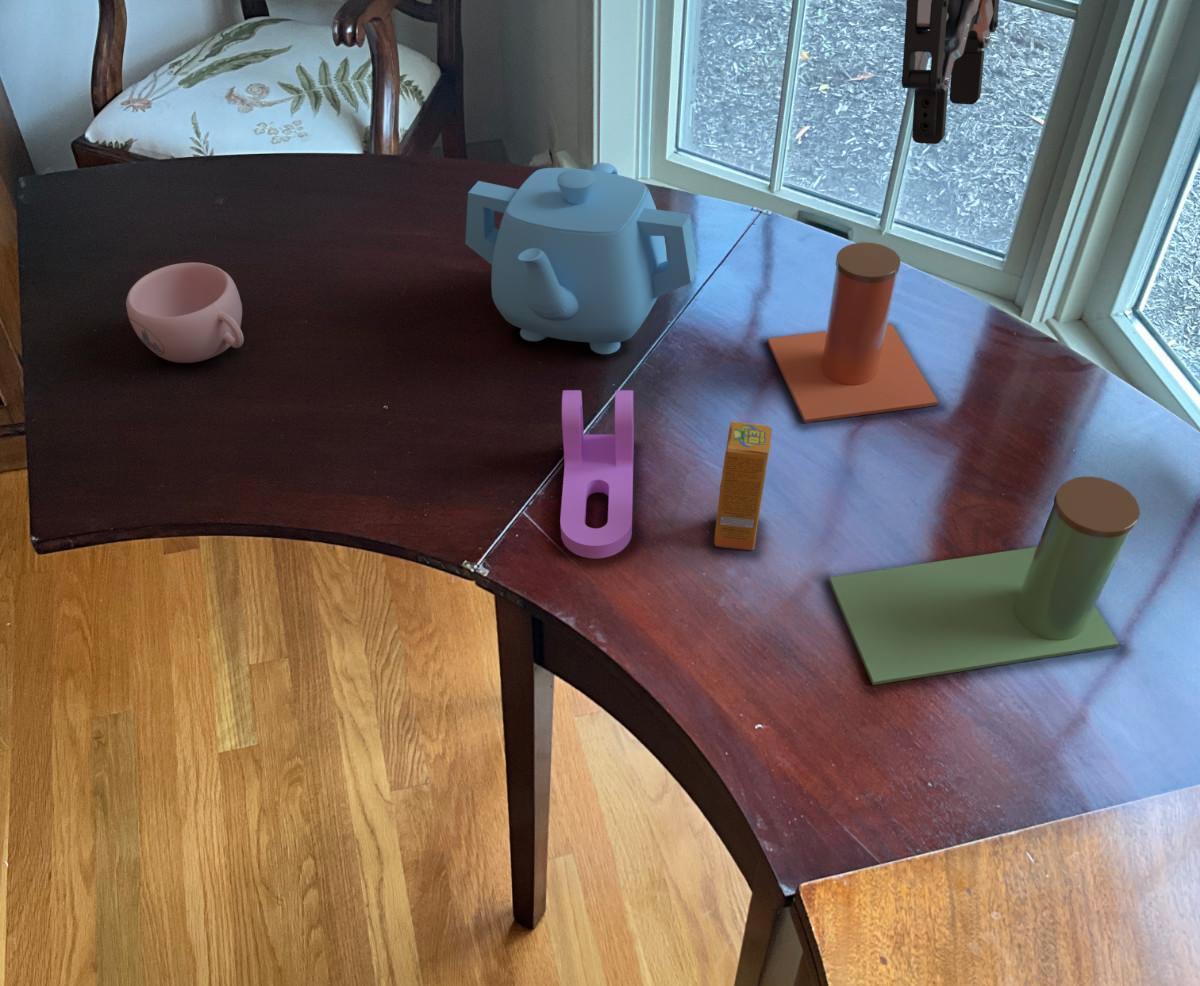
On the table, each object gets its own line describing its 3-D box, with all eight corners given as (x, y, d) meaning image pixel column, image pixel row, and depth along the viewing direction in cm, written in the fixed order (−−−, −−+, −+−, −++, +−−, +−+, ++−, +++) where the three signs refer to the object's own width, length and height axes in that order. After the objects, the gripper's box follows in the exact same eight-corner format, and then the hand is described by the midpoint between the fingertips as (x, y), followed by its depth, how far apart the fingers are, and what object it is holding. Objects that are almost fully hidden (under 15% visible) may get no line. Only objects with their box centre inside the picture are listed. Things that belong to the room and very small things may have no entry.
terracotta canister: (879, 353, 101) (900, 244, 93) (878, 388, 98) (900, 279, 89) (821, 348, 102) (837, 239, 93) (818, 383, 98) (835, 273, 90)
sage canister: (1068, 582, 82) (1116, 471, 74) (1101, 635, 79) (1155, 525, 70) (1001, 592, 82) (1042, 481, 73) (1031, 646, 78) (1077, 536, 70)
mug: (121, 354, 104) (99, 300, 100) (199, 302, 110) (181, 248, 105) (212, 395, 100) (192, 340, 96) (288, 339, 105) (273, 285, 101)
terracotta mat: (890, 326, 104) (891, 322, 104) (937, 405, 96) (938, 401, 96) (766, 341, 103) (767, 338, 103) (804, 423, 95) (804, 419, 95)
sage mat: (1055, 547, 85) (1056, 543, 85) (1117, 647, 78) (1118, 643, 78) (828, 580, 83) (829, 577, 83) (872, 685, 77) (873, 681, 76)
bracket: (567, 447, 94) (563, 380, 89) (633, 447, 94) (633, 380, 89) (559, 558, 86) (553, 491, 80) (631, 558, 85) (630, 492, 80)
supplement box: (758, 552, 85) (769, 453, 78) (713, 547, 86) (720, 449, 78) (760, 522, 88) (772, 423, 80) (717, 518, 88) (724, 419, 80)
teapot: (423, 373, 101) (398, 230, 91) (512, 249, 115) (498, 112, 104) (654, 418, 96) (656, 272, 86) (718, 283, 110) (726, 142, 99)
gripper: (989, -109, 67) (967, 160, 78) (1051, -156, 76) (1024, 92, 86) (870, -104, 71) (864, 153, 81) (943, -149, 79) (929, 88, 90)
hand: (946, 121), depth 84 cm, fingers open, 8 cm apart
